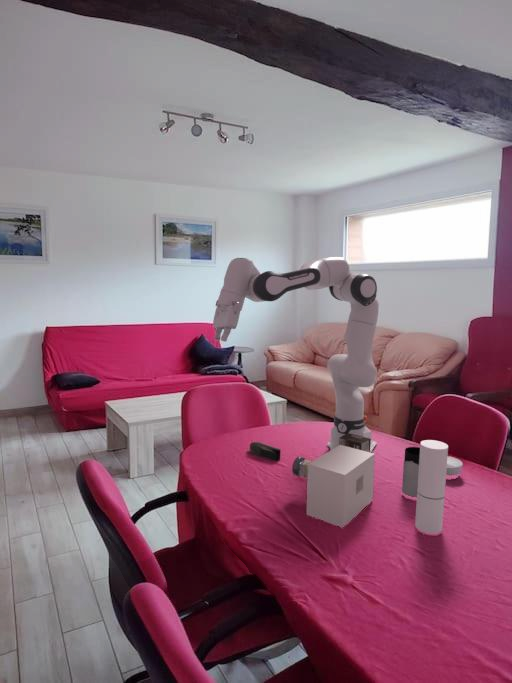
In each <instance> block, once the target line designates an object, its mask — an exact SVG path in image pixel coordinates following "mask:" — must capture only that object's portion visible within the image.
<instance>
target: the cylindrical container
mask: <svg viewBox="0 0 512 683" xmlns="http://www.w3.org/2000/svg"><path fill="white" fill-rule="evenodd" d="M419 448H420V457H419V473H418V489H417V501H416V508H415V521H414V522H415V523H414V527H415V526H416V527H417V528H418V529H419V530H420V531H423V532H425V533H430V534H436V533H439V532H441V531H442V532H443V524H444V523H443V521H444V509H445V507H444V506H445V495H446V485H447V484H446V483H447V480H446V470H447V456H448V455H449V454H448V453H449V445H448V444H447V443H445V442H443V441H439V440H435V439H426V440H425V439H424V440H421V441H420V444H419Z"/></svg>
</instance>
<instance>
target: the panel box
mask: <svg viewBox="0 0 512 683" xmlns="http://www.w3.org/2000/svg"><path fill="white" fill-rule="evenodd" d="M375 456H376V455H375V453H373V452H372V453H370V452H366V451H362V450H359V449H355V448H351V447H347V446H343V445H339V446H337V447H335V448H334V449H332V450H328V451H327V452H325V453H324V454H322V455H320V456H319V457H317V458H316V459H315V458H314V459H313V460H311V461H312V462H310V463H309V464H308V478H307V480H306V481H307V485H306V486H307V488H306V491H307V492H306V514H307V515H306V516H308V515H310V516H312V517H311V518H313V517H315V518H314V519H316V518H318V519H321V520H324V521H326V522H329V523H331V524H330V525H332V524H334V525H337V526H340V527H344V526H345V525H346V524H347V523H348V522H350V521H351V520H352V519H353V518H354V517H355V516H356V515H357V514H358V513H359V512H360V511H361V510H362V509H363V508H364V507H365V506H366V505H367V504H369V503H370V502H371V501H372V502H373V496H374V493H373V492H374V479H375V478H374V475H375V474H374V473H375ZM310 516H309V517H310ZM356 517H357V516H356ZM356 517H355V518H356ZM355 518H354V519H355ZM318 519H317V520H318ZM354 519H353V520H354ZM321 520H320V521H321ZM353 520H352V521H353ZM324 521H323V522H324ZM352 521H351V522H352ZM326 522H325V523H326ZM351 522H350V523H351ZM329 523H328V524H329ZM334 525H333V526H334ZM337 526H336V527H337ZM345 527H346V526H345ZM345 527H344V528H345Z"/></svg>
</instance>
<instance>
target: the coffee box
mask: <svg viewBox="0 0 512 683" xmlns="http://www.w3.org/2000/svg"><path fill="white" fill-rule="evenodd" d="M371 440H372V438H371V439H369V438H366V437H362V436H358V435H354V434H350V433H347V434H345V435H343V436H342V437H339V445H343V446H347V447H351V448H355V449H359V450H362V451H366V452H370V442H371Z"/></svg>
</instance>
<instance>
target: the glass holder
mask: <svg viewBox="0 0 512 683" xmlns="http://www.w3.org/2000/svg"><path fill="white" fill-rule="evenodd" d="M419 457H420V446H419V447H418V446H408V447H406V448H405V449H404V461H403V468H402V486H401V490H402V492H403V493H404V494H406V495H408V496H411V497H417V489H418V473H419Z"/></svg>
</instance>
